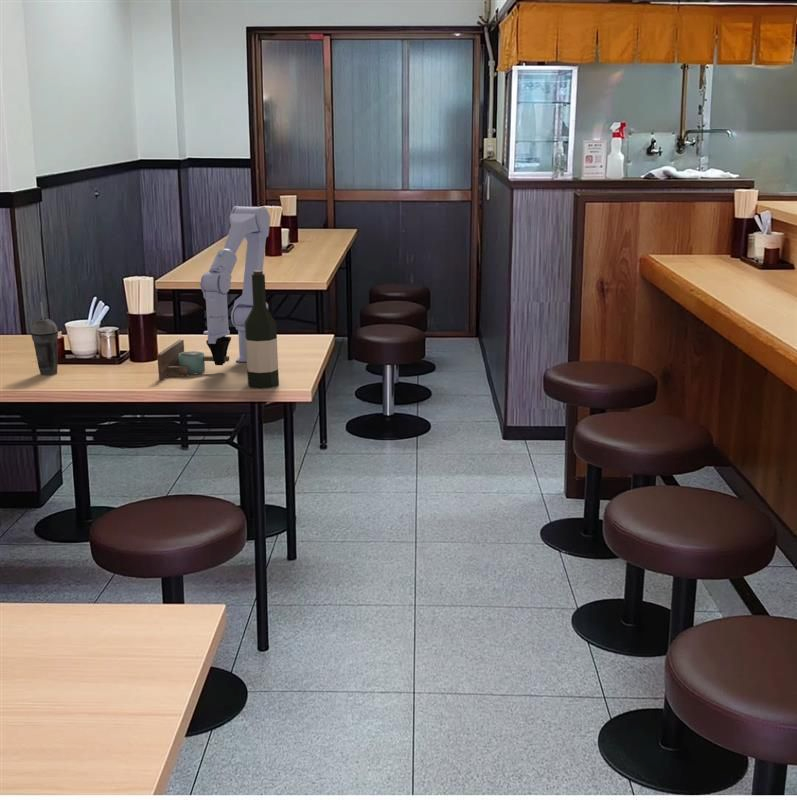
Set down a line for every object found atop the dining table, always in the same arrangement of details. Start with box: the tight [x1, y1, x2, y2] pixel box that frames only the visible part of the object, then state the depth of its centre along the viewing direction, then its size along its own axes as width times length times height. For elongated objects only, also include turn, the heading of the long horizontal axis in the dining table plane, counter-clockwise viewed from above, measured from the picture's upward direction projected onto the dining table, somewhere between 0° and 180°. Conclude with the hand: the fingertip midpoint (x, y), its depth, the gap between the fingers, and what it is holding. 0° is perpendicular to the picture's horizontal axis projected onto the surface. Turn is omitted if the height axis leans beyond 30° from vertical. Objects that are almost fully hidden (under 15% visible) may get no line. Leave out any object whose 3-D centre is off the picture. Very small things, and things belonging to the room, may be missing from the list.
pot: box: [178, 350, 230, 375], centre depth 280 cm, size 14×7×5 cm, turn 85°
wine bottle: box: [245, 270, 280, 389], centre depth 262 cm, size 8×8×30 cm
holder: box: [156, 339, 190, 380], centre depth 281 cm, size 6×20×7 cm, turn 175°
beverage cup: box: [30, 301, 59, 376], centre depth 278 cm, size 7×7×20 cm
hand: (220, 364), depth 280 cm, fingers closed on pot, 2 cm apart
